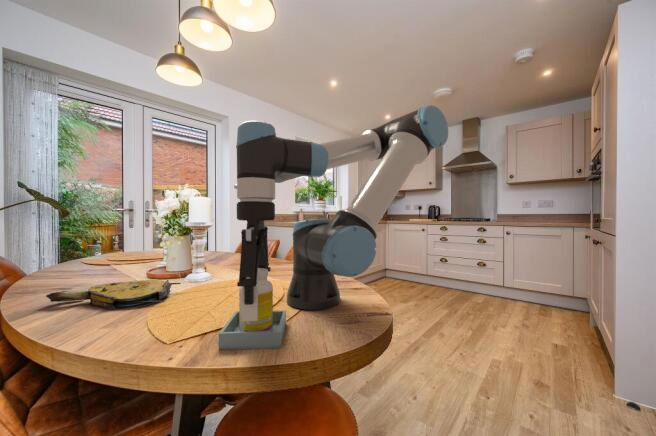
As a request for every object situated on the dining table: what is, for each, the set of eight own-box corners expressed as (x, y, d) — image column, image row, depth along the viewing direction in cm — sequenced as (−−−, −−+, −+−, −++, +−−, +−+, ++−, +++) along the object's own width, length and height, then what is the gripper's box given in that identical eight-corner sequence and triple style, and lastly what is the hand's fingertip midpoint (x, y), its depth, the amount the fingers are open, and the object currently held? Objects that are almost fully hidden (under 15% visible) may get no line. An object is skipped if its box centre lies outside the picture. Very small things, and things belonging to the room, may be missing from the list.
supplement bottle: (279, 332, 55) (279, 270, 55) (249, 343, 51) (249, 275, 50) (262, 322, 60) (262, 265, 60) (233, 331, 55) (233, 269, 55)
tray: (285, 323, 61) (286, 310, 61) (280, 348, 50) (280, 332, 50) (235, 324, 60) (235, 311, 60) (218, 349, 49) (218, 333, 49)
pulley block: (69, 276, 78) (181, 272, 85) (71, 294, 79) (181, 289, 85) (26, 298, 65) (163, 292, 71) (29, 320, 66) (164, 312, 72)
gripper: (249, 203, 65) (249, 293, 66) (218, 197, 43) (218, 335, 43) (280, 203, 66) (280, 293, 66) (265, 198, 44) (265, 334, 44)
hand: (255, 310), depth 55 cm, fingers open, 10 cm apart
